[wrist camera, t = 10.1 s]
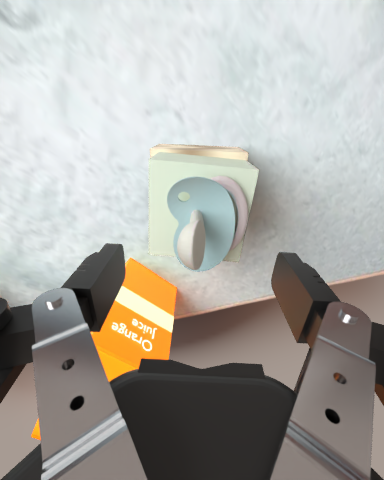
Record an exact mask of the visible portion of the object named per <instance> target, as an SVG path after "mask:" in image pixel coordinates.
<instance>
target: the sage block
mask: <svg viewBox="0 0 384 480" xmlns="http://www.w3.org/2000/svg"><path fill="white" fill-rule="evenodd" d="M258 173H259V169H257V168H256V167H255V166H253V165H252V164H250V163H249V162H247V161H246V160H239V159H229V158H218V157H208V156H198V155H188V154H177V153H167V152H158V153H157V154H155V155H154V156H152V157H151V158H150V159H149V255H159V256H171V257H176V255H175V252H174V247H173V240H174V235H175V232H176V229H177V227H178V225H179V223H178V220H177V219H175V218H174V216H173V215H172V214H171V212H170V210H169V208H168V204H167V195H168V192H169V190H170V188H171V187H172V186H173V185H174V184H175V183H176V182H178V181H179V180H181V179H184V178H187V177H196V176H197V177H205V178H208V179H210V178H213V177H216V176H226V177H229V178H230V179H232V180H234V181H235V182H236V183H237V184H238V185H239V186H240V187H241V189H242V191H243V193H244V195H245V198H246V202H247V206H248V218H249V214H250V209H251V205H252V200H253V196H254V191H255V187H256V182H257V178H258ZM228 194H229V193H228ZM229 196H230V198H231V200H232V203H233V207H234V212H235V225H236V220H237V210H236V205H235V201H234V199H233V197H232V196H231V195H230V194H229ZM178 198H179V199H180V200H181V201H187V200H188V199H189V198H190V195H189V194H188V193H187V192H181V193H179V195H178ZM247 223H248V221H247ZM245 232H246V230H245ZM244 236H245V233H244ZM244 236H243V237H242V239H241V241H240V242H239V244H238V245H237V246H236V247H235V248H234V249H232V250H230V251H229V252H228V253H227V255H226V256H225V258H224V259H223V260H222V261H230V262H239V258H240V254H241V249H242V245H243V241H244Z"/></svg>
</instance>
